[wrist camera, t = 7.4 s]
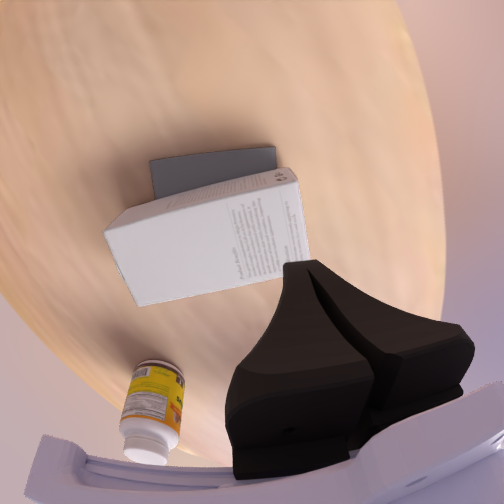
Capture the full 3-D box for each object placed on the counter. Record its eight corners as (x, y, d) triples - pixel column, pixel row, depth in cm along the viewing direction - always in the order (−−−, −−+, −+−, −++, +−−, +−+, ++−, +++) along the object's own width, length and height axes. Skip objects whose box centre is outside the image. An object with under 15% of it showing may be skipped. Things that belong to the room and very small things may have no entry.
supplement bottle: (180, 394, 30) (171, 473, 21) (133, 381, 29) (113, 459, 20) (191, 365, 28) (182, 455, 19) (138, 350, 27) (113, 437, 18)
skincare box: (289, 164, 19) (124, 204, 20) (301, 179, 15) (98, 227, 16) (302, 246, 22) (151, 275, 23) (315, 277, 18) (134, 309, 19)
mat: (280, 264, 23) (281, 266, 23) (172, 274, 23) (171, 276, 23) (274, 146, 19) (275, 147, 19) (150, 160, 19) (149, 161, 19)
